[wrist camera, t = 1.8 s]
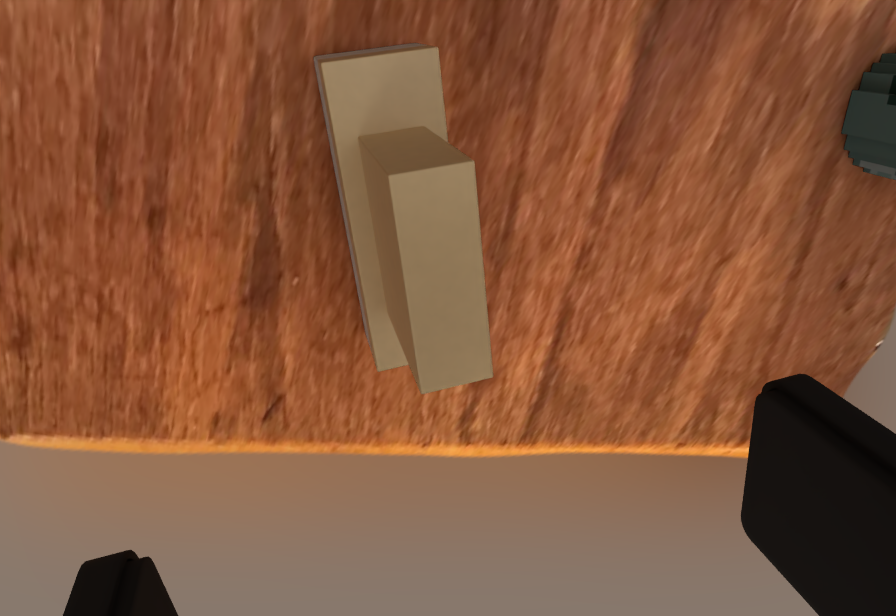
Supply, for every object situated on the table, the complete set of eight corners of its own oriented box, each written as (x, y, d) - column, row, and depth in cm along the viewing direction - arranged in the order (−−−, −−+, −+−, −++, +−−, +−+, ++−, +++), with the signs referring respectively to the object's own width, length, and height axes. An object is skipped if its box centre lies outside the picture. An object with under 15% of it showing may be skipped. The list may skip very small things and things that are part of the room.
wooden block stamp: (365, 334, 29) (407, 464, 21) (313, 56, 23) (340, 79, 15) (449, 316, 30) (521, 433, 21) (416, 42, 24) (496, 56, 16)
